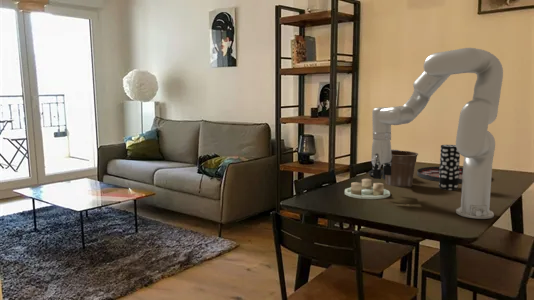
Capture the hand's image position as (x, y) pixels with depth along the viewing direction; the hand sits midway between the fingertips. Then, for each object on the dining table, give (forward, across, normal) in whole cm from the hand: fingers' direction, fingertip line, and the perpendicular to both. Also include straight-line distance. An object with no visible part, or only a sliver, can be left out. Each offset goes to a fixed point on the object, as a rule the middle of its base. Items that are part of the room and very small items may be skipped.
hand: (382, 176), depth 184 cm
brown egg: (+8, 0, -2) cm, 8 cm away
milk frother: (+9, -41, -19) cm, 46 cm away
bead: (+8, -4, -10) cm, 13 cm away
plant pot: (+9, -28, -5) cm, 29 cm away
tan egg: (+8, +5, -10) cm, 14 cm away
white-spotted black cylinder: (+10, -37, +15) cm, 41 cm away
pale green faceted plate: (+9, 0, -7) cm, 12 cm away
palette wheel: (+10, -67, +7) cm, 68 cm away
